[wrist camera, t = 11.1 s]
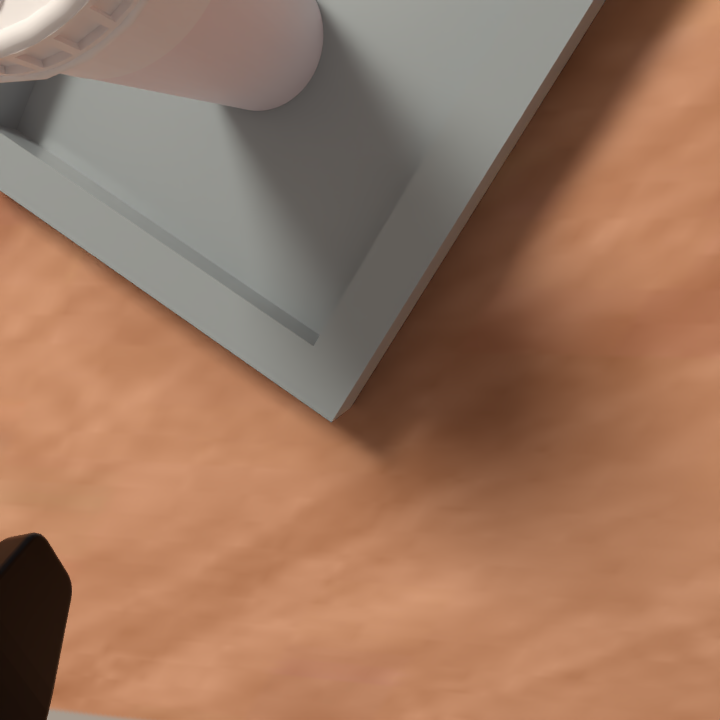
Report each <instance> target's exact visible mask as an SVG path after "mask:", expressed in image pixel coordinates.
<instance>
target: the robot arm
mask: <svg viewBox="0 0 720 720" xmlns="http://www.w3.org/2000/svg"><path fill="white" fill-rule="evenodd" d="M71 596H72V585H71V581H70V577H69V575H68V573H67V572H66V570H65V568H64V567H63V565H62V563H61V562H60V560H59V559H58V557H57V555H56V554H55V552H54V550H53V549H52V547H51V546H50V544H49V542H48V541H47V539H46V538H45V537H44V536H42V535H41V534H39V533H29V534H24V535H19V536H14V537H10V538H7V539H4V540H3V541H1V542H0V720H47V716H48V712H49V707H50V703H51V699H52V694H53V689H54V684H55V679H56V674H57V669H58V664H59V659H60V653H61V648H62V643H63V638H64V633H65V628H66V622H67V617H68V612H69V607H70V602H71Z"/></svg>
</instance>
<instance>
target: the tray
mask: <svg viewBox="0 0 720 720" xmlns="http://www.w3.org/2000/svg"><path fill="white" fill-rule="evenodd" d="M605 1H606V0H316V2H317V4H318V7H319V10H320V13H321V17H322V22H323V47H322V53H321V56H320V60H319V63H318V66H317V68H316V70H315V72H314V74H313V76H312V78H311V79H310V81H309V82H308V84H307V85H306V86H305V88H304V89H303V90H302V91H301V92H300V93H299V94H298V95H297V96H296V97H294V98H293V99H292V100H290V101H289V102H287V103H285V104H283V105H281V106H279V107H276V108H273V109H270V110H264V111H251V110H246V109H241V108H236V107H231V106H225V105H220V104H215V103H210V102H205V101H200V100H195V99H190V98H185V97H180V96H174V95H169V94H164V93H159V92H154V91H149V90H144V89H139V88H134V87H129V86H124V85H118V84H113V83H108V82H103V81H98V80H93V79H85V78H79V77H74V76H69V75H64V74H57V75H55V76H53V77H50V78H48V79H42V80H30V81H18V82H5V83H0V191H2V192H3V193H5V194H6V195H7V196H9V197H10V198H12V199H13V200H15V201H16V202H17V203H19V204H20V205H22V206H23V207H25V208H26V209H27V210H29V211H30V212H32V213H33V214H35V215H36V216H37V217H39V218H40V219H42V220H43V221H45V222H46V223H47V224H49V225H50V226H52V227H53V228H55V229H56V230H57V231H59V232H60V233H62V234H63V235H65V236H66V237H67V238H69V239H70V240H72V241H73V242H75V243H76V244H77V245H79V246H80V247H82V248H83V249H85V250H86V251H87V252H89V253H90V254H92V255H93V256H95V257H96V258H97V259H99V260H100V261H102V262H103V263H105V264H106V265H107V266H109V267H110V268H112V269H113V270H115V271H116V272H117V273H119V274H120V275H122V276H123V277H125V278H126V279H127V280H129V281H130V282H132V283H133V284H135V285H136V286H137V287H139V288H140V289H142V290H143V291H145V292H146V293H147V294H149V295H150V296H152V297H153V298H155V299H156V300H157V301H159V302H160V303H162V304H163V305H165V306H166V307H167V308H169V309H170V310H172V311H173V312H174V313H176V314H177V315H179V316H180V317H182V318H183V319H184V320H186V321H187V322H189V323H190V324H192V325H193V326H194V327H196V328H197V329H199V330H200V331H202V332H203V333H204V334H206V335H207V336H209V337H210V338H212V339H213V340H214V341H216V342H217V343H219V344H220V345H222V346H223V347H224V348H226V349H227V350H229V351H230V352H232V353H233V354H234V355H236V356H237V357H239V358H240V359H242V360H243V361H244V362H246V363H247V364H249V365H250V366H252V367H253V368H254V369H256V370H257V371H259V372H260V373H262V374H263V375H264V376H266V377H267V378H269V379H270V380H272V381H273V382H274V383H276V384H277V385H279V386H280V387H282V388H283V389H284V390H286V391H287V392H289V393H290V394H292V395H293V396H294V397H296V398H297V399H299V400H300V401H302V402H303V403H304V404H306V405H307V406H309V407H310V408H312V409H313V410H314V411H316V412H317V413H319V414H320V415H322V416H323V417H324V418H326V419H327V420H329V421H330V422H333V421H334V420H335V419H337V418H338V417H339V416H340V415H342V414H343V413H344V412H346V411H347V410H348V409H350V408H351V406H352V405H353V403H354V402H355V400H356V398H357V397H358V395H359V394H360V392H361V390H362V389H363V387H364V386H365V384H366V382H367V381H368V379H369V378H370V376H371V374H372V373H373V371H374V370H375V368H376V366H377V365H378V363H379V362H380V360H381V358H382V357H383V355H384V354H385V352H386V350H387V349H388V347H389V346H390V344H391V342H392V341H393V339H394V338H395V336H396V334H397V333H398V331H399V330H400V328H401V326H402V325H403V323H404V322H405V320H406V319H407V317H408V315H409V314H410V312H411V311H412V309H413V307H414V306H415V304H416V303H417V301H418V299H419V298H420V296H421V295H422V293H423V291H424V290H425V288H426V287H427V285H428V283H429V282H430V280H431V279H432V277H433V275H434V274H435V272H436V271H437V269H438V267H439V266H440V264H441V263H442V261H443V259H444V258H445V256H446V255H447V253H448V251H449V250H450V248H451V247H452V245H453V243H454V242H455V240H456V239H457V237H458V235H459V234H460V232H461V231H462V229H463V227H464V226H465V224H466V223H467V221H468V219H469V218H470V216H471V215H472V213H473V211H474V210H475V208H476V207H477V205H478V203H479V202H480V200H481V199H482V197H483V196H484V194H485V192H486V191H487V189H488V188H489V186H490V184H491V183H492V181H493V180H494V178H495V176H496V175H497V173H498V172H499V170H500V168H501V167H502V165H503V164H504V162H505V160H506V159H507V157H508V156H509V154H510V152H511V151H512V149H513V148H514V146H515V144H516V143H517V141H518V140H519V138H520V136H521V135H522V133H523V132H524V130H525V128H526V127H527V125H528V124H529V122H530V120H531V119H532V117H533V116H534V114H535V112H536V111H537V109H538V108H539V106H540V104H541V103H542V101H543V100H544V98H545V96H546V95H547V93H548V92H549V90H550V88H551V87H552V85H553V84H554V82H555V81H556V79H557V77H558V76H559V74H560V73H561V71H562V69H563V68H564V66H565V65H566V63H567V61H568V60H569V58H570V57H571V55H572V53H573V52H574V50H575V49H576V47H577V45H578V44H579V42H580V41H581V39H582V37H583V36H584V34H585V33H586V31H587V29H588V28H589V26H590V25H591V23H592V21H593V20H594V18H595V17H596V15H597V13H598V12H599V10H600V9H601V7H602V5H603V4H604V2H605Z"/></svg>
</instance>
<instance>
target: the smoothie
mask: <svg viewBox="0 0 720 720" xmlns="http://www.w3.org/2000/svg"><path fill="white" fill-rule="evenodd" d="M322 47H323V22H322V17H321V13H320V10H319V7H318V4H317V2H316V0H0V83H5V82H18V81H30V80H42V79H48V78H50V77H53V76H55V75H57V74H64V75H69V76H74V77H79V78H85V79H93V80H98V81H103V82H108V83H113V84H118V85H124V86H129V87H134V88H139V89H144V90H149V91H154V92H159V93H164V94H169V95H174V96H180V97H185V98H190V99H195V100H200V101H205V102H210V103H215V104H220V105H225V106H231V107H236V108H241V109H246V110H251V111H264V110H270V109H273V108H276V107H279V106H281V105H283V104H285V103H287V102H289V101H290V100H292V99H293V98H294V97H296V96H297V95H298V94H299V93H300V92H301V91H302V90H303V89H304V88H305V86H306V85H307V84H308V82H309V81H310V79H311V78H312V76H313V74H314V72H315V70H316V68H317V66H318V63H319V60H320V56H321V53H322Z"/></svg>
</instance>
